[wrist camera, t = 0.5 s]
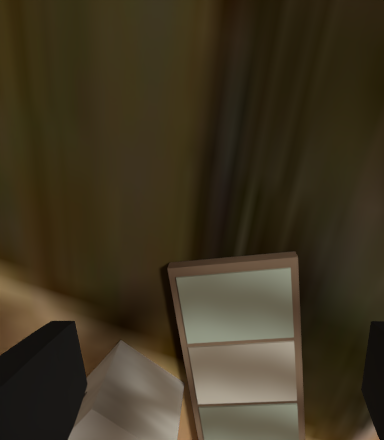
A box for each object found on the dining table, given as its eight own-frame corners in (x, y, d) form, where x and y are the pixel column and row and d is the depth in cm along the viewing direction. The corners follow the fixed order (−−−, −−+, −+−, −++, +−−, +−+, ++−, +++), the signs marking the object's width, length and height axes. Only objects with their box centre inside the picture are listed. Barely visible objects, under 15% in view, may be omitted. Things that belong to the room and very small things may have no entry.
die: (184, 382, 21) (174, 462, 17) (139, 424, 23) (118, 508, 18) (120, 338, 21) (90, 409, 16) (78, 384, 22) (40, 461, 17)
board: (305, 495, 24) (308, 508, 23) (210, 495, 25) (210, 508, 24) (295, 251, 18) (298, 258, 17) (169, 262, 18) (166, 269, 18)
